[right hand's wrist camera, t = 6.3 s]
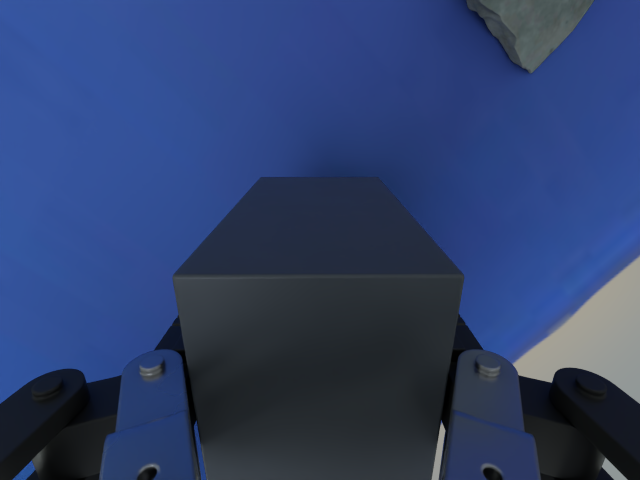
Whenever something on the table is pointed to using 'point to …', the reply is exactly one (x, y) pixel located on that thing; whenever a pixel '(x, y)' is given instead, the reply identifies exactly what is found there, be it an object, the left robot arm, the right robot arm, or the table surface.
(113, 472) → the right robot arm
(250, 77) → the table surface
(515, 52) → the stone
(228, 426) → the box
